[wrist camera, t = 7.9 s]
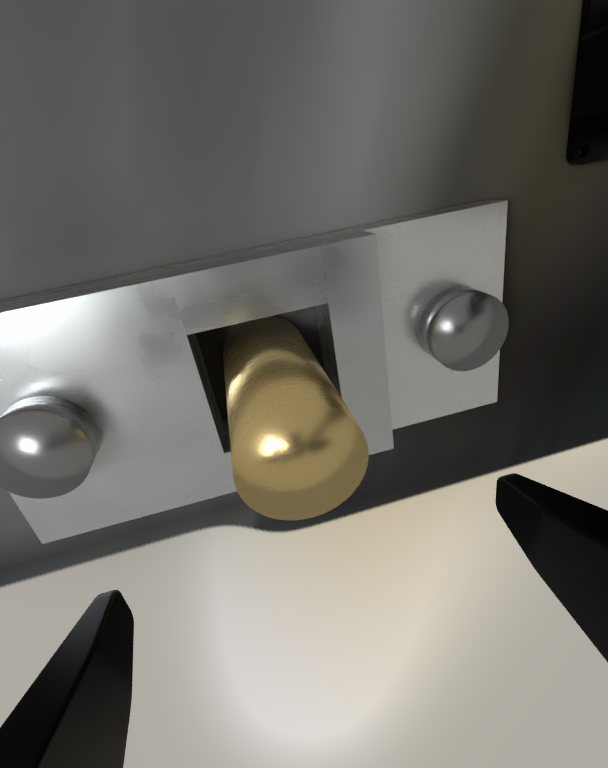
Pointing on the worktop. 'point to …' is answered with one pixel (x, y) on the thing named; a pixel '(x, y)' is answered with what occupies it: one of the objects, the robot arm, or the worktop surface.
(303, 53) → the worktop surface
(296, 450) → the brass pin
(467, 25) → the worktop surface
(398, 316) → the plate with square hole
